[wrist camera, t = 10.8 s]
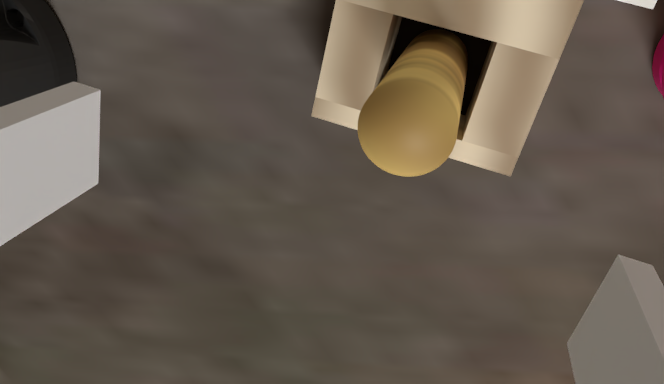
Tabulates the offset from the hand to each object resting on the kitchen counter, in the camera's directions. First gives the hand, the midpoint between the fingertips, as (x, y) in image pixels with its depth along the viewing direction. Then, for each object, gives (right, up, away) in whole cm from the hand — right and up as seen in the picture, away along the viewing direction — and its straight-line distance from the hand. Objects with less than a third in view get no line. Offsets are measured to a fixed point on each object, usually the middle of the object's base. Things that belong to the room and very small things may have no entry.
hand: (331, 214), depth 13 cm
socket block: (+7, +11, +19) cm, 23 cm away
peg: (+6, +9, +21) cm, 23 cm away
